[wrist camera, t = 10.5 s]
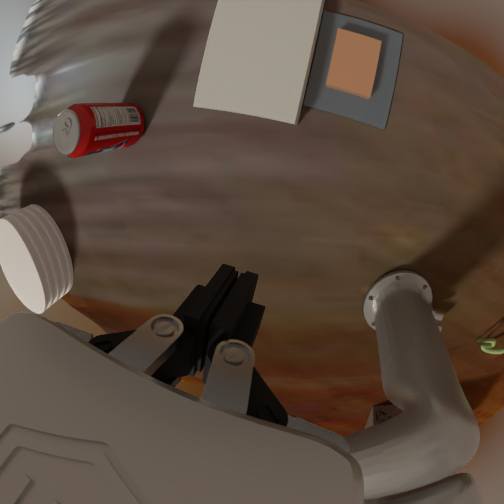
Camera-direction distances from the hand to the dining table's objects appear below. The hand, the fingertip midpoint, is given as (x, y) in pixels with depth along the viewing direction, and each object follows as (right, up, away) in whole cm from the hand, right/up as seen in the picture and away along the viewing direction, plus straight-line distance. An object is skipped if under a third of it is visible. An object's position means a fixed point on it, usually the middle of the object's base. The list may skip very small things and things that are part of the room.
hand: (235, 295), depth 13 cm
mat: (+15, +27, +16) cm, 35 cm away
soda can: (-20, +24, +28) cm, 42 cm away
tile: (+14, +26, +14) cm, 33 cm away
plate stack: (-59, +2, +49) cm, 77 cm away
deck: (+2, +31, +18) cm, 36 cm away
